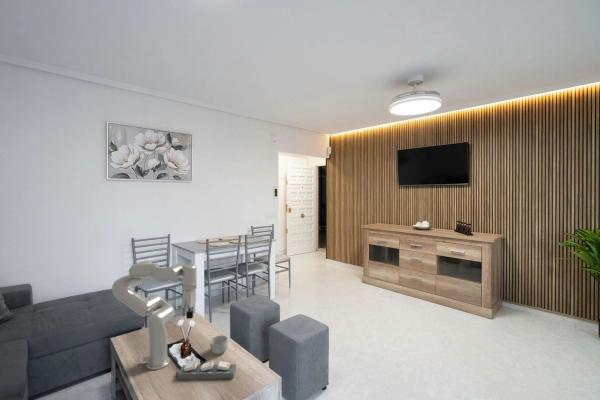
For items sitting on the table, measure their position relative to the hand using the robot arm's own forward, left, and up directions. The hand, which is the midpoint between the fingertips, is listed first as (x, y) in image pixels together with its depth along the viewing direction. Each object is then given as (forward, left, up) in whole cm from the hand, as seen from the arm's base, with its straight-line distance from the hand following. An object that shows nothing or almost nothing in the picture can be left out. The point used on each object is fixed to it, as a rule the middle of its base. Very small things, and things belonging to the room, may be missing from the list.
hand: (189, 317), depth 164 cm
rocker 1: (+3, -7, -25) cm, 26 cm away
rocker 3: (+21, -7, -25) cm, 33 cm away
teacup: (+13, +17, -29) cm, 36 cm away
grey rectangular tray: (+12, -7, -29) cm, 32 cm away
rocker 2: (+12, -7, -25) cm, 28 cm away
